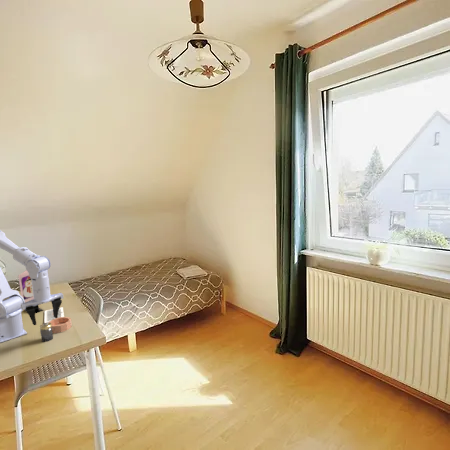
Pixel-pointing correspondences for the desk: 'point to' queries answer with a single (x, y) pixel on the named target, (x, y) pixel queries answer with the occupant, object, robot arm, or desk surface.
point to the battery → (46, 332)
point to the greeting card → (26, 286)
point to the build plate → (37, 309)
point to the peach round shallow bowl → (61, 324)
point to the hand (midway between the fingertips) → (45, 320)
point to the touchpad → (50, 316)
